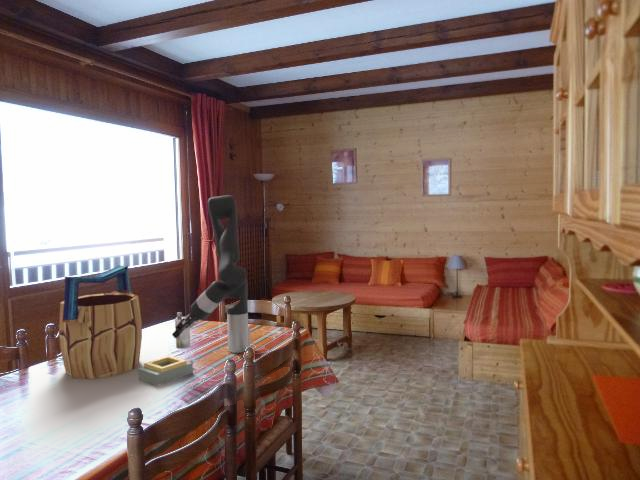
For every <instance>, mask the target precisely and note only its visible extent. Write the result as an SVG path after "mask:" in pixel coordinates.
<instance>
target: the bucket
mask: <svg viewBox="0 0 640 480" xmlns="http://www.w3.org/2000/svg"><path fill="white" fill-rule="evenodd" d="M115 278H116V283H117V290H118V291H112V292H108V293H107V292H105V293H94V294H85V295H81V296H79V290H80V289H79V287H80V284H83V283H84V284H91V283H92V284H105V283H106V282H108V281H110V280H112V279H115ZM64 283H65V286H64V298H63V301H61V302H59V315H58V316H59V320H58V340H59V348H60V354H61V358H62V362H63V366H64V367H63V368H64V371H65V374H67V375H68V376H69V375H70V378H72V379H79V378H81V379H82V380H96V379H102V378H110V377H115V376H119V375H122V374H124V373H127V372H129V371H132V370H134V369H135V368H136V367H138V366H137V365H138V364H139V362H140V358H141V357H140V356H141V347H142V338H143V335H142V334H143V329H142V328H143V327H142V326H143V322H142V321H143V320H142V315H141V314H142V313H141V307H140V299H139V295H138V294H137V295H136V294H133V291H131V286H130V277H129V266H128V265H118V266H117V265H116V266H115V267H113V268H110V269H108V270H106V271H103V272H101V273H98V274H96V275H94V276H91V277H90V276H88V277H87V276H64ZM81 379H80V380H81Z"/></svg>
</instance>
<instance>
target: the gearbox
mask: <svg viewBox="0 0 640 480" xmlns="http://www.w3.org/2000/svg"><path fill="white" fill-rule="evenodd" d="M193 366H194V361H193V359H188V360H186V359H182V358H178V357H175V356H172V355H167V356H163V357H160V358H156V359H154V360H150V361H147V362H144V363H143V366H141V367H139V368H137V375H138V376H137V377H138V380H140V381H143V382H146V383H149V384H152V385H153V386H160V385H163V384H165V383H167V382H171V381H174V380H177V379H179V378H182V377H184V376H188V375H191V374H193V373H194V372H193Z"/></svg>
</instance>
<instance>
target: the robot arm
mask: <svg viewBox="0 0 640 480" xmlns="http://www.w3.org/2000/svg"><path fill="white" fill-rule="evenodd" d="M207 209H208V214H209V218H210V222H211V227H212V230H213V234H214V241H215V247H216V249H215V250H216V255H217V258H218V262H219V266H218V271H217V274H218V277H219V279H220V280H215V281H213V282H211V284H210V285H208V287H207V288H206V290H204V291H203V292H202V293H201V294H200V295H199V296H198V297H197V298H196V299H195V300H194V302H193V303H192V304H191V305H190V307H189V310H190V312H189V313H188V314H187V315H186V316H185V317H186V318H185V319H184V318H183V319H182V320H181V321H180V322H179V324H178V325H177V326H176V328H175V330H174V332H173V333H172V336H173V338H174V339H176V338H177V337H178V336H179V335H180V334H181V333H182V332H183V331H184V330H185V329H188V328H189V327H190V329H191V328H193V327H195V326H196V325H198V323H199V322H200V321H205V320H206V319H208V318H209V316H210V315H212V313H213V312H214V311H215V310H216V309H217V308H218V306H219V305H220V304H221V302H222V301H223V300H224V299H225V298H226V299H239V301H238V302H236V303H234V304H230V305H229V306H227V308H226V317H227V318H226V319H227V324H226V325H227V350H228V352H229V353H234V354H236V353H237V354H238V353H239V354H240V353H245V352H246V351H245V349H246V347H248V346H250V347H251V329H250V327H249V313H248V311H249V309H248V307H249V306H248V301H249V299H248V297H249V296H248V295H249V294H248V292H249V285H248V284H249V283H248V279H247V278H248V272H247V270H246V269H245V268H244V267H241V266H238V265H236V264H237V263H238V261H240V258H241V255H240V254H241V253H240V247H239V246H240V245H239V239H238V233H239V232H238V207H237V202H236V199H235V196H234V195H230V194H226V195H225V194H224V195H220V196H219V195H218V196H212V197H210V198H208V199H207ZM226 219H229V220H228V224H227V226H226V227H224V225H223V224H222V222H221V221H220V220H226ZM187 325H188V326H187ZM244 351H245V352H244Z"/></svg>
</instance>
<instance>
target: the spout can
mask: <svg viewBox="0 0 640 480" xmlns="http://www.w3.org/2000/svg"><path fill="white" fill-rule="evenodd" d="M183 318H184V319H185V318H186V316H183V312H182V311H179V312H176V317H175V319H174V323H175V324H174V325H175V326H174V327H175V329H176V326H177V325H178V324H179V322H180V321H181V320H182V319H183ZM187 326H188V325H187ZM175 345H176V349H180V350H184V349H189V348H190V347H191V327H189V328H188V329H185V330H184V331H183V332H182V333H181V334H180V335H179V336H178V337H177V338H175Z"/></svg>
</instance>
